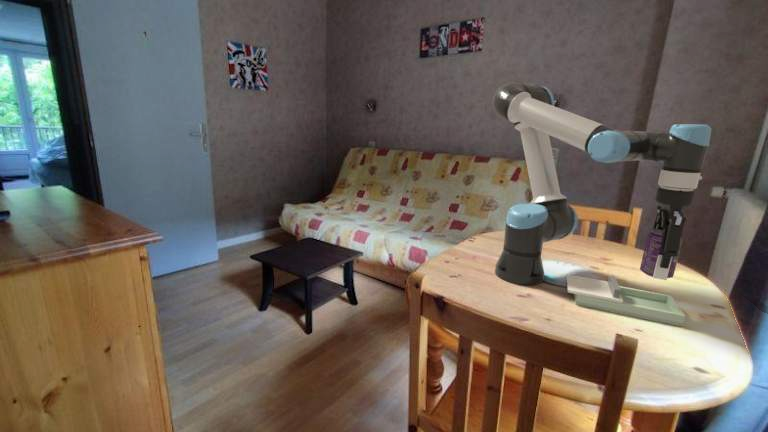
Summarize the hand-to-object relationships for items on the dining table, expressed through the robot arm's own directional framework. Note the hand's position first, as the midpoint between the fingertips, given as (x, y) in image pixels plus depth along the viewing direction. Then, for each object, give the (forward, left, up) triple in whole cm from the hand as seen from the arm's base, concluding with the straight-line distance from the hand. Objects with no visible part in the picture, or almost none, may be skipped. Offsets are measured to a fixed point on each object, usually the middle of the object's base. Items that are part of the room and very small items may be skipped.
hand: (655, 272), depth 91 cm
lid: (-13, 0, -8) cm, 16 cm away
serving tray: (-6, 0, -11) cm, 12 cm away
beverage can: (0, 0, -1) cm, 1 cm away
